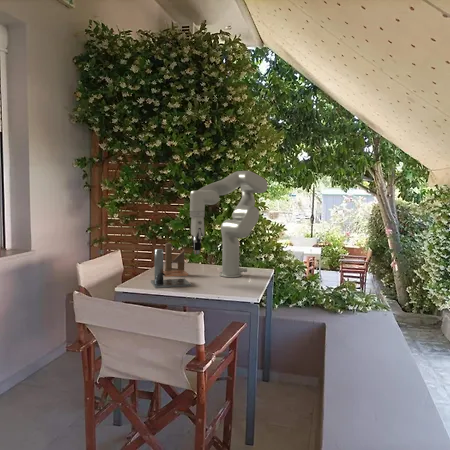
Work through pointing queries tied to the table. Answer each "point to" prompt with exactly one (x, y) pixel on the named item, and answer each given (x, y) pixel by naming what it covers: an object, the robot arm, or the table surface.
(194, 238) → the wedge pin
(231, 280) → the table surface
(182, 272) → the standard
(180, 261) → the brown slanted frame
